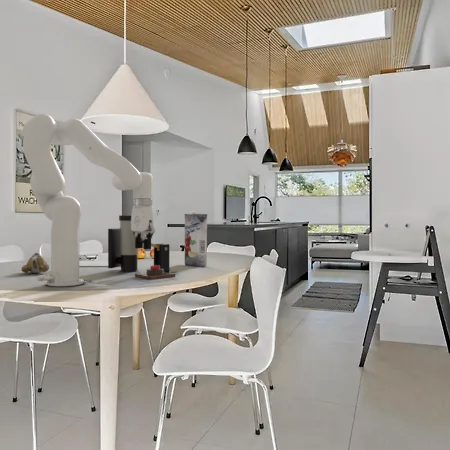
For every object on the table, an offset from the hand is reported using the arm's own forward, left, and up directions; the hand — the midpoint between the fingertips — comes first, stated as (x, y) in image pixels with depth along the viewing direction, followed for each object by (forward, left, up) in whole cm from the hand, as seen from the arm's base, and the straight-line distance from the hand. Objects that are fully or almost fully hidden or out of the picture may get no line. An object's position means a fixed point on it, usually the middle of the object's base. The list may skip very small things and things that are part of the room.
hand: (143, 248), depth 174 cm
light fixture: (+1, +14, -12) cm, 18 cm away
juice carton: (+40, +13, -12) cm, 44 cm away
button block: (-1, -9, -12) cm, 15 cm away
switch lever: (+5, 0, 0) cm, 4 cm away
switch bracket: (+9, 0, -12) cm, 15 cm away
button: (-1, -9, -8) cm, 12 cm away
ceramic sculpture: (-26, +41, -12) cm, 50 cm away
